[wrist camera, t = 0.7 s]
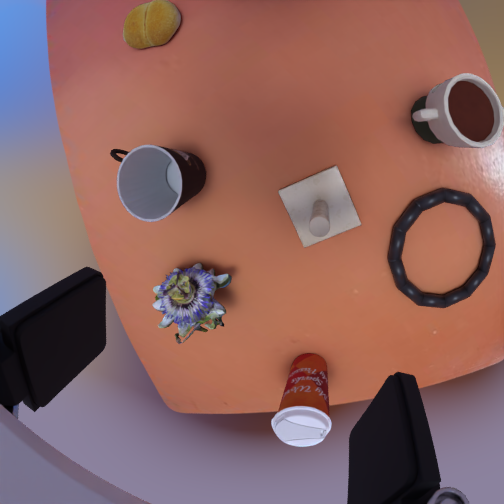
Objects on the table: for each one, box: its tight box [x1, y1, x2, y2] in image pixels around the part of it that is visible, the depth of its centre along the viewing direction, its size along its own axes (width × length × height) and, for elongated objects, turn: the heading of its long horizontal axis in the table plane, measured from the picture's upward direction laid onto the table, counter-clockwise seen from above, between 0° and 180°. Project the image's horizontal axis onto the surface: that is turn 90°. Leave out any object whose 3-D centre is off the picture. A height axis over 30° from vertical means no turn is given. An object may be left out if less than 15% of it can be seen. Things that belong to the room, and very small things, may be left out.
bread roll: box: [123, 0, 181, 49], centre depth 33 cm, size 8×9×4 cm
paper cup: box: [272, 353, 331, 447], centre depth 40 cm, size 8×8×14 cm
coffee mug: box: [110, 145, 206, 222], centre depth 37 cm, size 12×9×10 cm
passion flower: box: [153, 263, 232, 344], centre depth 43 cm, size 11×11×12 cm
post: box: [278, 165, 361, 248], centre depth 34 cm, size 8×8×11 cm
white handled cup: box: [411, 73, 504, 148], centre depth 26 cm, size 11×7×13 cm, turn 103°
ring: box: [388, 188, 496, 308], centre depth 36 cm, size 17×17×2 cm
